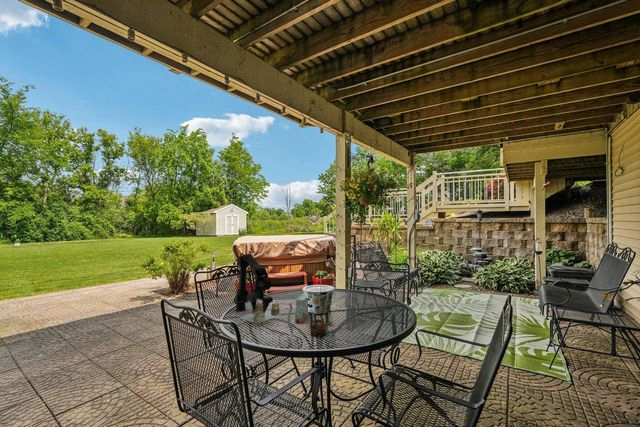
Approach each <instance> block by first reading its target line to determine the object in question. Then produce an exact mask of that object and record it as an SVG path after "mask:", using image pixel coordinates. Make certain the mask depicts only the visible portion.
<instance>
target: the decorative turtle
mask: <svg viewBox="0 0 640 427" xmlns="http://www.w3.org/2000/svg"><path fill="white" fill-rule="evenodd" d="M327 327H328V326H327V323H326V322H325V321H323V319H318V318H317V319H314V320H312V321H311V322H310V324H309V329H310V331H311V332H312V333H311V334H312V335H313V336H314V337H315V336H317V335H318V334H320V335H321V336H324V335H325V333H326V330H327Z"/></svg>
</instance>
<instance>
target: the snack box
mask: <svg viewBox="0 0 640 427" xmlns="http://www.w3.org/2000/svg"><path fill="white" fill-rule="evenodd" d="M309 315H310V314H309V312H308V298H307V296H306V295H304V292H303V293H301V294H300V296H299V297H297V298H296V300H295V318H294V319H295V320H294V323H295V324H303V323H304V322H305V321H306V320H307V318H309Z"/></svg>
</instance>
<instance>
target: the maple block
mask: <svg viewBox="0 0 640 427" xmlns="http://www.w3.org/2000/svg"><path fill="white" fill-rule="evenodd" d="M264 320H265V313H263V312H261V311H258V312H255V313H253V321H255V322H258V324H260V323H263V322H265V321H264ZM262 321H263V322H262ZM259 322H260V323H259Z"/></svg>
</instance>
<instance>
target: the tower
mask: <svg viewBox="0 0 640 427" xmlns="http://www.w3.org/2000/svg"><path fill="white" fill-rule="evenodd" d="M270 311H271V315H274V316H276V315H279V314H280V302H271V309H270ZM279 316H280V315H279ZM276 317H277V316H276Z"/></svg>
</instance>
